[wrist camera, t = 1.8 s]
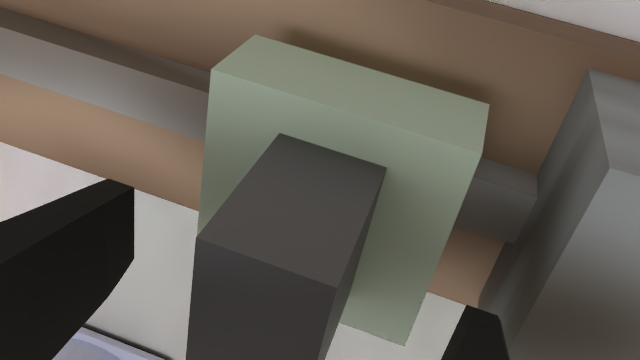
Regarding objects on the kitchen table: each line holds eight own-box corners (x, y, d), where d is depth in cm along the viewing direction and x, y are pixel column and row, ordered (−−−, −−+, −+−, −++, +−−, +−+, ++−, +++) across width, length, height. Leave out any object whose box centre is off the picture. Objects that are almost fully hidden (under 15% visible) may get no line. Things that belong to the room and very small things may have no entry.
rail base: (624, 328, 20) (658, 518, 14) (-126, 70, 24) (-312, 143, 19) (796, 85, 15) (947, 239, 9) (-195, -185, 19) (-477, -186, 14)
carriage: (425, 259, 18) (370, 489, 12) (247, 197, 19) (109, 383, 13) (492, 85, 15) (462, 280, 9) (272, 20, 16) (101, 155, 10)
